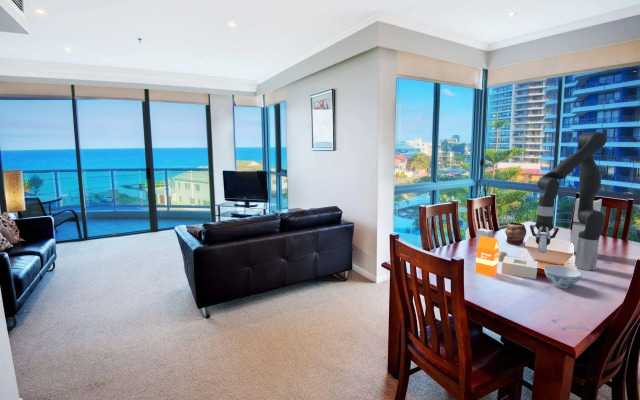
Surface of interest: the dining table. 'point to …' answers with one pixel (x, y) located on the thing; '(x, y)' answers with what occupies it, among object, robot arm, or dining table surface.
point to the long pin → (542, 243)
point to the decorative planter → (515, 233)
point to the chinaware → (562, 275)
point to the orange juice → (487, 256)
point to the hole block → (519, 267)
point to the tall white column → (579, 226)
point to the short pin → (502, 256)
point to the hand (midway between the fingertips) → (542, 244)
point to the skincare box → (483, 233)
